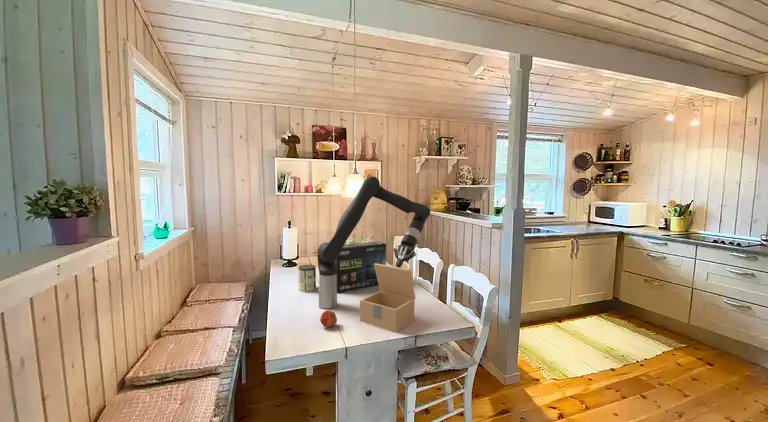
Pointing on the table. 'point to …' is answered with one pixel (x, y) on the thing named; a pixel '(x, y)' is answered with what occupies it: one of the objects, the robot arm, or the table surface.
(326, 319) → the pomegranate
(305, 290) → the coffee can
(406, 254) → the robot arm
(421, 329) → the table surface
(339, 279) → the router box
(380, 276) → the box lid
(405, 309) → the cardboard box
